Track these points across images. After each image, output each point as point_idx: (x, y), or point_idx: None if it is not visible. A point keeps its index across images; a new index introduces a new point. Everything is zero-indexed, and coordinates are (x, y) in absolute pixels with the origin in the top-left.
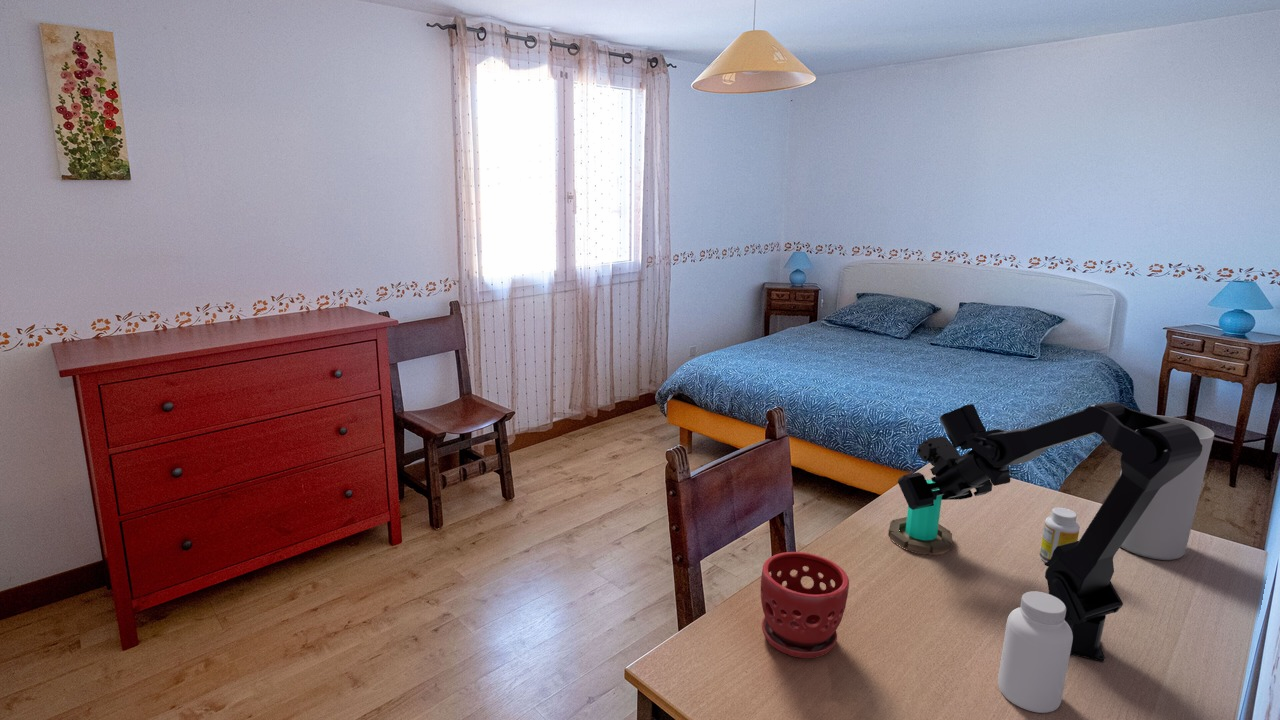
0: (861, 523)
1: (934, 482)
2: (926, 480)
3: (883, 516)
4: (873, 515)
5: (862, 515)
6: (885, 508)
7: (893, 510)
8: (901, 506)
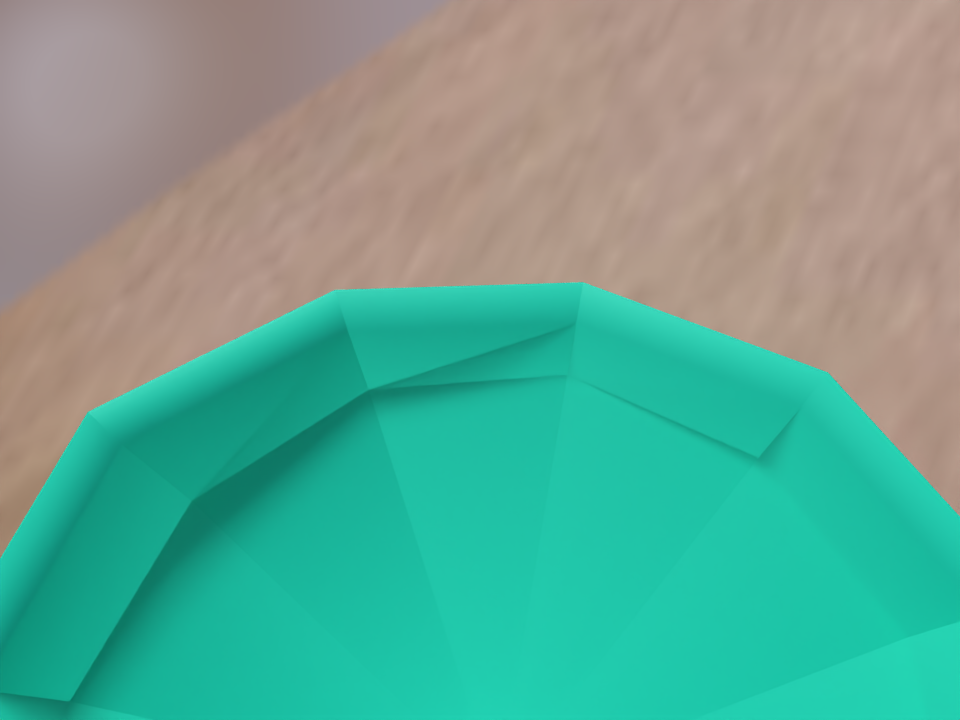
0: (44, 366)
1: (891, 547)
2: (673, 366)
3: (334, 248)
4: (245, 226)
5: (138, 222)
6: (425, 112)
7: (485, 148)
8: (595, 84)
